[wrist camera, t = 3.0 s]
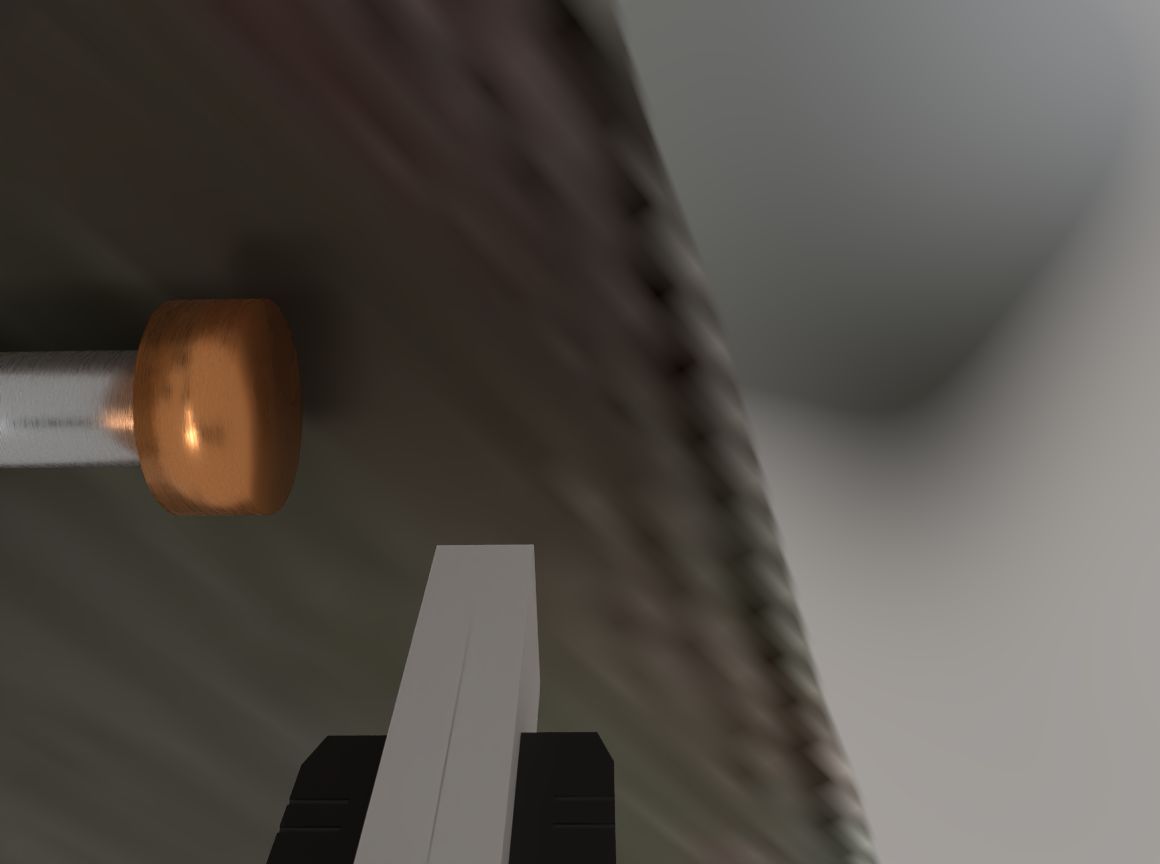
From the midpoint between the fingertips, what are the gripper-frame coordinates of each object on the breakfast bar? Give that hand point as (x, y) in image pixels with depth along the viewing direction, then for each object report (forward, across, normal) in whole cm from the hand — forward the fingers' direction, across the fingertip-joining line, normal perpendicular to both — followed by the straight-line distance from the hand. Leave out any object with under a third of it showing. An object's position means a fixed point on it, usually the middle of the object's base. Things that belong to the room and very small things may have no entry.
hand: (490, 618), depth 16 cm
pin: (+10, -14, 0) cm, 17 cm away
